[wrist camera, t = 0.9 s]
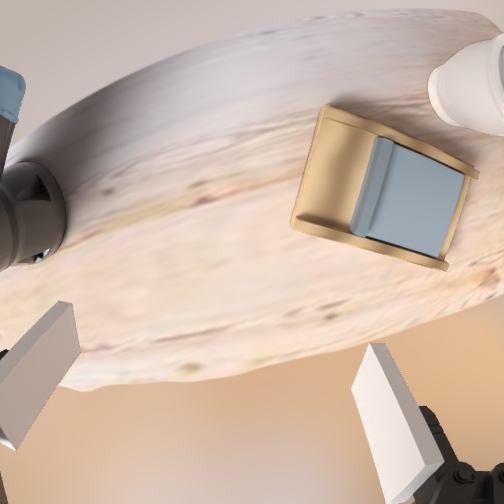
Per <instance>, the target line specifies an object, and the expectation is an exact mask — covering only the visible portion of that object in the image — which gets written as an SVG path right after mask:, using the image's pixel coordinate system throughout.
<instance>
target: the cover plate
mask: <svg viewBox="0 0 504 504" xmlns="http://www.w3.org/2000/svg"><path fill="white" fill-rule="evenodd" d="M393 143H394V142H393V141H391V140H388V139H386V138H375V139H374V143H373V147H372V150H371V154H370V158H369V161H368V165H367V169H366V172H365V176H364V179H363V182H362V186H361V189H360V193H359V196H358V199H357V202H356V206H355V209H354V212H353V215H352V219H351V222H350V225H349V229H350V230H351V232H352V233H353V234H354V235H357V236H360V237H364V238H365V237H366V236H370V237H373V238H376V239H380V240H383V241H386V242H390V243H393V244H396V245H400V246H403V247H406V248H409V249H413V250H416V251H419V252H422V253H425V254H428V255H431V256H435V257H438V256H439V253H440V250H441V248H442V245H443V242H444V240H445V237H446V234H447V231H448V228H449V225H450V222H451V219H452V216H453V213H454V210H455V207H456V204H457V200H458V197H459V194H460V190H461V187H462V183H463V179H464V175H462V174H460V173H458V172H456V171H454V170H452V169H450V168H448V167H446V166H444V165H442V164H440V163H437V162H435V161H433V160H431V159H429V158H426V157H424V156H422V155H420V154H417V153H415V152H413V151H410V150H408V149H406V148H403V147H401V146H398V145H396V144H393Z"/></svg>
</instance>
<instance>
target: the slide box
mask: <svg viewBox="0 0 504 504" xmlns="http://www.w3.org/2000/svg"><path fill="white" fill-rule="evenodd" d="M375 138H386V139H388V140H391V141H393V142H394V143H393V144H396V145H398V146H401V147H403V148H406V149H408V150H410V151H413V152H415V153H417V154H420V155H422V156H424V157H426V158H429V159H431V160H433V161H435V162H437V163H440V164H442V165H444V166H446V167H448V168H450V169H452V170H454V171H456V172H458V173H460V174H462V175H464V179H463V183H462V187H461V190H460V194H459V197H458V200H457V204H456V207H455V210H454V213H453V216H452V219H451V222H450V225H449V228H448V231H447V234H446V237H445V240H444V242H443V245H442V248H441V250H440V253H439V256H438V257H435V256H431V255H428V254H425V253H422V252H419V251H416V250H413V249H409V248H406V247H403V246H400V245H396V244H393V243H390V242H386V241H383V240H380V239H376V238H373V237H370V236H366V237H365V238H364V237H360V236H357V235H354V234H353V233H352V232H351V230H350V229H349V225H350V222H351V219H352V215H353V212H354V209H355V206H356V202H357V199H358V196H359V193H360V189H361V186H362V182H363V179H364V176H365V172H366V169H367V165H368V161H369V158H370V154H371V150H372V147H373V143H374V139H375ZM479 173H480V172H479V171H478V170H476V169H474V166H472V165H470V164H468V163H466V162H464V161H463V160H461V159H459V158H457V157H455V156H453V155H451V154H449V153H447V152H445V151H443V150H441V149H439V148H437V147H434V146H432V145H430V144H428V143H426V142H424V141H421V140H419V139H417V138H415V137H412V136H410V135H408V134H405V133H403V132H401V131H398V130H396V129H393V128H391V127H388V126H386V125H383V124H381V123H378V122H376V121H373V120H370V119H368V118H365V117H362V116H359V115H357V114H354V113H351V112H348V111H345V110H342V109H339V108H336V107H333V106H330V105H327V104H326V105H325V106H323V107H322V108H321V109H320V113H319V117H318V120H317V124H316V128H315V132H314V136H313V139H312V143H311V147H310V151H309V154H308V158H307V162H306V165H305V169H304V173H303V176H302V180H301V184H300V187H299V191H298V194H297V198H296V202H295V205H294V209H293V212H292V216H291V219H290V225H291V228H292V230H295V231H299V232H303V233H307V234H310V235H314V236H318V237H322V238H325V239H329V240H333V241H336V242H340V243H344V244H347V245H351V246H355V247H358V248H362V249H365V250H369V251H373V252H376V253H380V254H383V255H387V256H390V257H394V258H397V259H401V260H404V261H408V262H411V263H414V264H418V265H421V266H425V267H428V268H431V269H435V270H438V271H440V270H442V271H445V272H447V270H448V267H449V265H450V264H448V263H447V262H446V261H444V259H445V256H446V254H447V251H448V249H449V246H450V243H451V240H452V238H453V235H454V232H455V229H456V226H457V223H458V220H459V217H460V214H461V211H462V208H463V204H464V201H465V198H466V194H467V191H468V187H469V184H470V180H471V178H474V179H478V177H479Z"/></svg>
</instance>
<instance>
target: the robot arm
mask: <svg viewBox="0 0 504 504" xmlns="http://www.w3.org/2000/svg"><path fill="white" fill-rule="evenodd" d="M25 89H26V84H25V81H24V78H23V77H22V76H21V75H20V74H19V73H17V72H15V71H12V70H10V69H7V68H5V67H2V66H0V272H2V271H3V270H5V269H6V268H8V267H10V266H20V265H31V264H36V263H39V262H41V261H43V260H45V259H46V258H48V257H49V256H51V255H52V254H53V253H54V252H55V251H56V250H57V249H58V247H59V245H60V243H61V241H62V238H63V235H64V231H65V223H66V214H65V205H64V200H63V197H62V193H61V191H60V188H59V186H58V184H57V182H56V180H55V179H54V177H53V176H52V175H51V173H50V172H49V171H48V170H47V169H46V168H44V167H43V166H41V165H40V164H38V163H35V162H21V163H16V164H13V165H10V166H8V167H7V168H5V169H4V166H5V161H6V157H7V153H8V149H9V145H10V142H11V138H12V135H13V131H14V128H15V125H16V124H17V123H18V114H19V110H20V107H21V103H22V100H23V97H24V94H25ZM80 353H81V350H80V345H79V340H78V335H77V329H76V324H75V318H74V311H73V305H72V304H71V303H67V302H63V301H58V302H57V303H56V304H55V305H54V306H53V307H52V308H51V309H50V310H49V311H48V312H47V313H46V314H45V315H44V316H43V317H42V318H41V319H40V320H39V321H38V322H37V323H36V324H35V325H34V326H33V327H32V328H31V329H30V330H29V331H28V332H27V333H26V334H25V335H24V336H23V337H22V338H21V339H20V340H19V341H18V342H17V343H16V344H15V345H14V346H13V347H12V348H11V349H10V350H7V349H5V350H3V351H1V352H0V441H1V443H2V444H4V445H6V446H7V447H9V448H11V449H13V450H15V451H17V449H18V448H19V446H20V444H21V442H22V441H23V439H24V438H25V436H26V434H27V433H28V431H29V429H30V428H31V426H32V424H33V423H34V421H35V420H36V418H37V416H38V415H39V413H40V412H41V410H42V409H43V407H44V406H45V404H46V403H47V401H48V399H49V398H50V396H51V395H52V393H53V392H54V390H55V389H56V387H57V386H58V385H59V383H60V382H61V380H62V379H63V377H64V376H65V374H66V373H67V371H68V370H69V368H70V367H71V366H72V364H73V363H74V361H75V360H76V358H77V357H78V356H79V354H80ZM351 390H352V393H353V395H354V398H355V401H356V404H357V408H358V411H359V414H360V417H361V420H362V423H363V426H364V430H365V433H366V436H367V439H368V443H369V446H370V449H371V452H372V456H373V459H374V462H375V465H376V469H377V473H378V476H379V480H380V483H381V487H382V490H383V494H384V497H385V501H386V504H398V503H402V502H405V501H406V500H408V499H409V498H410V497H411V496H412V495H413V496H414V499H415V501H414V502H413V503H412V504H504V463H500V464H498V465H496V466H495V468H493V469H492V470H491V471H475V470H474V469H473V467H472V466H471V465H469V464H467V463H465V462H459V461H458V459H457V457H456V455H455V453H454V451H453V449H452V447H451V445H450V443H449V441H448V439H447V437H446V435H445V433H443V429H442V427H441V426H440V425H439V424H440V423H439V421H438V419H437V418H436V415H435V414H434V413H433V412H432V411H431V410H430V409H429V408H428V407H427V406H418V405H417V403H416V402H415V399H414V397H413V395H412V393H411V392H410V390H409V387H408V386H407V384H406V382H405V380H404V378H403V376H402V374H401V372H400V371H399V369H398V367H397V365H396V363H395V361H394V359H393V358H392V356H391V354H390V352H389V350H388V349H387V347H386V345H385V343H369V345H368V348H367V350H366V353H365V356H364V358H363V361H362V363H361V366H360V368H359V371H358V373H357V376H356V378H355V380H354V383H353V385H352V388H351ZM0 504H8V501H7V497H6V494H5V490H4V486H3V482H2V477H1V473H0Z"/></svg>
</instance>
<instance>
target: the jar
mask: <svg viewBox="0 0 504 504" xmlns="http://www.w3.org/2000/svg"><path fill="white" fill-rule="evenodd" d="M428 94H429V99H430V102H431V104H432V106H433V108H434V110H435V112H436V113H437V114H438V116H439V117H440V118H441V119H442V120H443V121H445V122H446V123H448V124H450V125H452V126H464V127H466V128H468V129H471V130H475V131H479V132H482V133H485V134H489V135H496V136H504V33H502V34H499V35H497V36H496V37H495V38H494V39H493V40H486V41H481V42H477V43H473V44H471V45H469V46H467V47H465V48H463V49H461V50H460V51H459V52H457V53H456V54H455V55H454V56H453V57H451V58H450V59H449V60H447V61H446V62H445V64H444V65H440V66H438V67H437V68H435V69H434V70H433V72H432V73H431V75H430V77H429V81H428Z"/></svg>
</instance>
